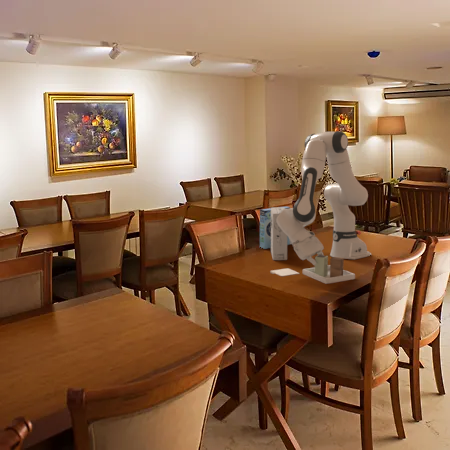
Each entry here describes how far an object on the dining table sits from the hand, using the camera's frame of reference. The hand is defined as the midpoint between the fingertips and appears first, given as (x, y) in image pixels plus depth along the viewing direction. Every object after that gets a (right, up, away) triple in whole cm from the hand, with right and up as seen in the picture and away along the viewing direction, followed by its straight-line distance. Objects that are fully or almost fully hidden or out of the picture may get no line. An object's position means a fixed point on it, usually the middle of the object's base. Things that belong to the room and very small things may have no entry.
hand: (320, 262), depth 233 cm
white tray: (+4, -7, -1) cm, 8 cm away
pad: (-16, -6, +7) cm, 18 cm away
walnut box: (+7, -7, -3) cm, 10 cm away
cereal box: (-15, 0, +43) cm, 46 cm away
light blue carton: (-15, +4, +65) cm, 67 cm away
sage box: (+1, -6, +1) cm, 6 cm away
